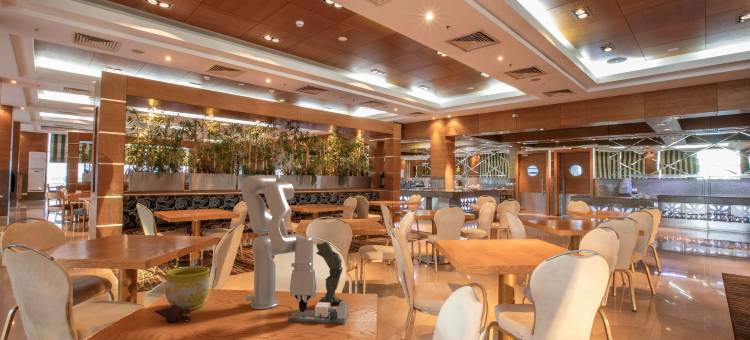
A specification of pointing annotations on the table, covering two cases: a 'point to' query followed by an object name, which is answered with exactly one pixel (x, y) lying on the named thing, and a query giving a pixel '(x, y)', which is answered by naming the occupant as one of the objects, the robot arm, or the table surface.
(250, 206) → the robot arm
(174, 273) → the flowerpot
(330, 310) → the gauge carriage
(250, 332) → the table surface
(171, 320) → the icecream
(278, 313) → the table surface
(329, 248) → the mechanical leg
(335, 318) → the gauge base
